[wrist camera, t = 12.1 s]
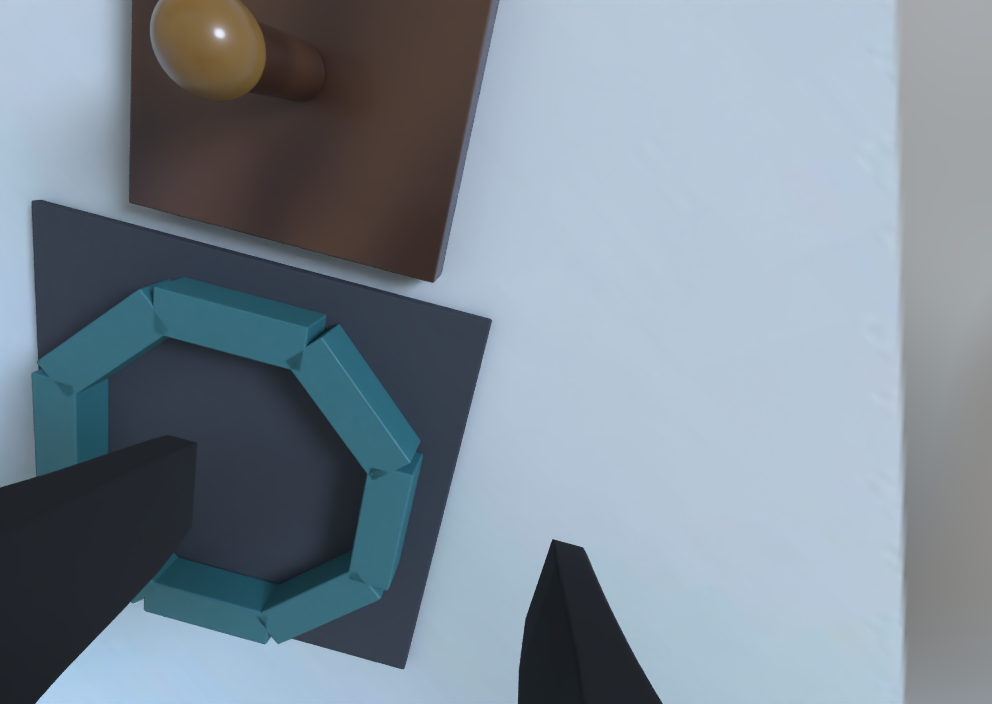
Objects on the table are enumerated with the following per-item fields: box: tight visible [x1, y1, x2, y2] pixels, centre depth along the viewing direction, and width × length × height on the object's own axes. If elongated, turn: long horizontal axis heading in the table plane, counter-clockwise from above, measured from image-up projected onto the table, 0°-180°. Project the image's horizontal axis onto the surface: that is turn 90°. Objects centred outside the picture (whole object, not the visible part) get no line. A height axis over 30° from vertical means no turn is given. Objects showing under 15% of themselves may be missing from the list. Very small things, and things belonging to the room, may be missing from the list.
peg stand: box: [129, 0, 499, 283], centre depth 14 cm, size 10×10×7 cm
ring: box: [32, 277, 423, 644], centre depth 21 cm, size 14×14×2 cm
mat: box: [32, 200, 492, 669], centre depth 22 cm, size 16×16×1 cm
